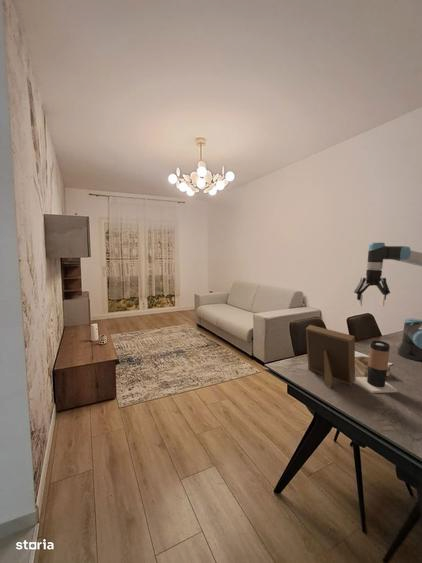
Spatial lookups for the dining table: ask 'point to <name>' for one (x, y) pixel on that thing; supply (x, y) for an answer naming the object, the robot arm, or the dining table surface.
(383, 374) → the travel mug
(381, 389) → the pad
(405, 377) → the dining table surface
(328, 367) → the photo frame
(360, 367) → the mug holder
